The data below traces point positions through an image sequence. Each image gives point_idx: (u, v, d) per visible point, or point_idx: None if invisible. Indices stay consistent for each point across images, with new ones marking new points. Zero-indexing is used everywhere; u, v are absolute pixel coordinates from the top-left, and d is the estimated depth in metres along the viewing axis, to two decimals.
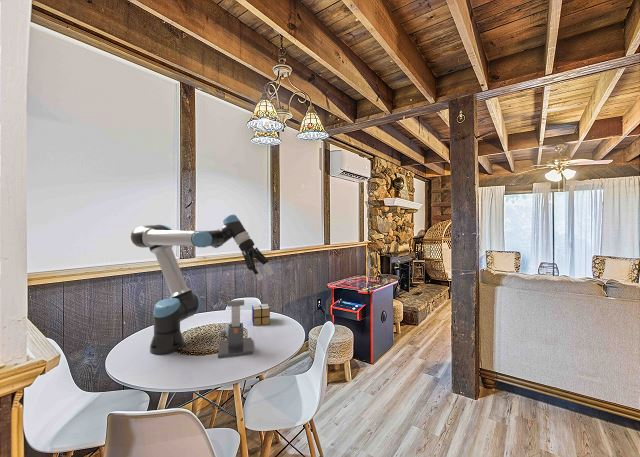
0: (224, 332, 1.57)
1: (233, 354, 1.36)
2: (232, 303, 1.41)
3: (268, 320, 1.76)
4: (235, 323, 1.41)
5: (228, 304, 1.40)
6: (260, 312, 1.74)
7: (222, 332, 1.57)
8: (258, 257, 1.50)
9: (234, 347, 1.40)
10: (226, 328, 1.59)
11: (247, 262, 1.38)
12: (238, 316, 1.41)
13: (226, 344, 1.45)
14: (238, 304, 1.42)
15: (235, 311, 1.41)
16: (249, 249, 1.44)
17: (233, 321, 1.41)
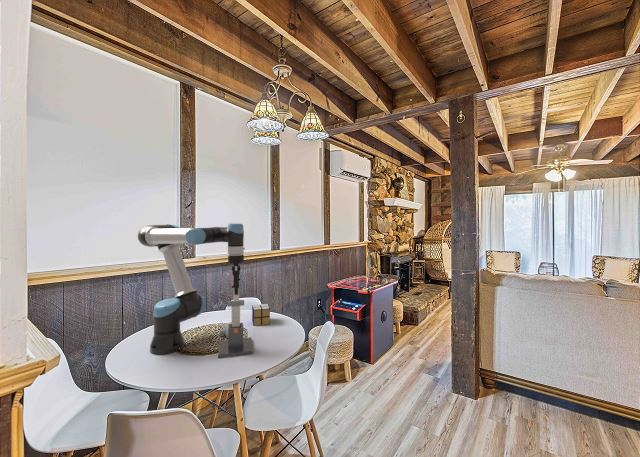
0: (224, 332, 1.57)
1: (233, 354, 1.36)
2: (232, 303, 1.41)
3: (268, 320, 1.76)
4: (235, 323, 1.41)
5: (228, 304, 1.40)
6: (260, 312, 1.74)
7: (222, 332, 1.57)
8: None
9: (234, 347, 1.40)
10: (226, 328, 1.59)
11: (235, 280, 1.33)
12: (238, 316, 1.41)
13: (226, 344, 1.45)
14: (238, 304, 1.42)
15: (235, 311, 1.41)
16: (238, 265, 1.40)
17: (233, 321, 1.41)
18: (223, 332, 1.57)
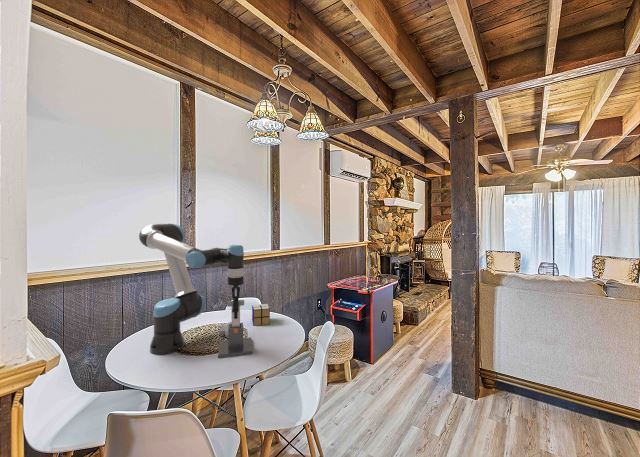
0: (223, 332, 1.57)
1: (233, 354, 1.36)
2: (232, 303, 1.41)
3: (268, 320, 1.76)
4: None
5: (228, 304, 1.40)
6: (260, 312, 1.74)
7: (221, 332, 1.57)
8: None
9: (234, 347, 1.40)
10: (225, 328, 1.59)
11: (235, 305, 1.37)
12: None
13: (226, 344, 1.45)
14: (238, 304, 1.42)
15: None
16: None
17: None
18: (222, 332, 1.57)
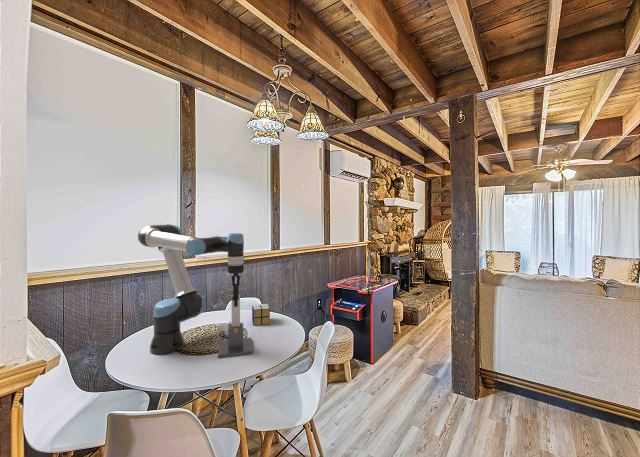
0: (223, 332, 1.57)
1: (233, 354, 1.36)
2: (232, 291, 1.41)
3: (268, 320, 1.76)
4: None
5: (227, 292, 1.40)
6: (260, 312, 1.74)
7: (221, 332, 1.57)
8: None
9: (234, 347, 1.40)
10: (224, 328, 1.59)
11: (235, 293, 1.37)
12: None
13: (226, 344, 1.45)
14: (238, 292, 1.41)
15: None
16: None
17: None
18: (222, 332, 1.57)
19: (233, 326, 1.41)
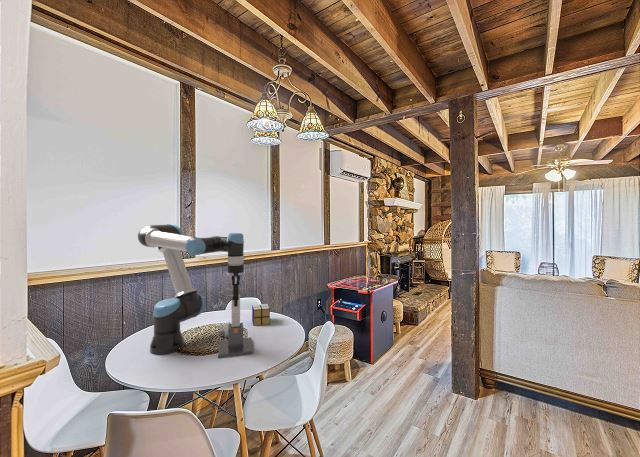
0: (222, 332, 1.57)
1: (233, 354, 1.36)
2: (232, 291, 1.41)
3: (268, 320, 1.76)
4: None
5: (227, 292, 1.40)
6: (260, 312, 1.74)
7: (220, 332, 1.57)
8: None
9: (234, 347, 1.40)
10: (224, 328, 1.59)
11: (235, 293, 1.37)
12: None
13: (226, 344, 1.45)
14: (238, 292, 1.41)
15: None
16: None
17: None
18: (222, 332, 1.57)
19: (233, 326, 1.41)
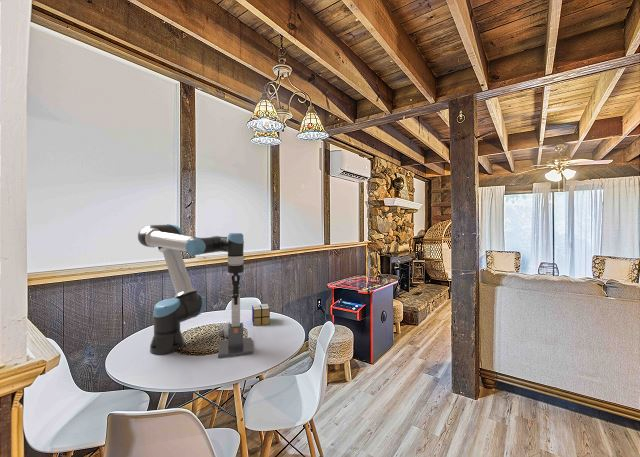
0: (222, 332, 1.57)
1: (233, 354, 1.36)
2: (232, 291, 1.41)
3: (268, 320, 1.76)
4: (235, 311, 1.41)
5: (227, 292, 1.40)
6: (260, 312, 1.74)
7: (220, 332, 1.57)
8: None
9: (234, 347, 1.40)
10: (224, 328, 1.59)
11: (235, 290, 1.34)
12: None
13: (226, 344, 1.45)
14: None
15: None
16: (238, 275, 1.40)
17: None
18: (222, 332, 1.57)
19: (233, 326, 1.41)
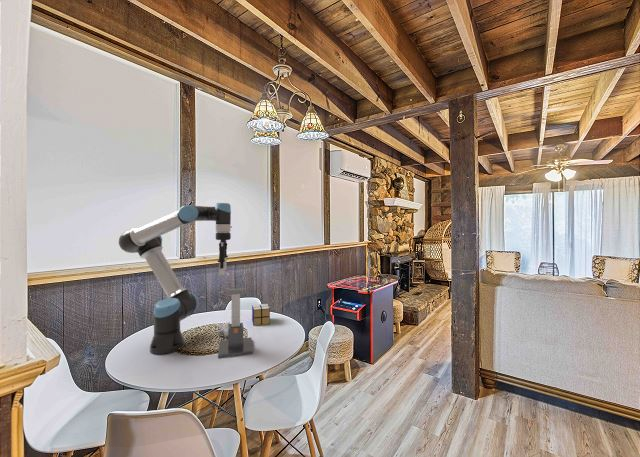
0: (222, 332, 1.57)
1: (233, 354, 1.36)
2: (232, 291, 1.41)
3: (268, 320, 1.76)
4: (235, 311, 1.41)
5: (227, 292, 1.40)
6: (260, 312, 1.74)
7: (220, 332, 1.57)
8: None
9: (234, 347, 1.40)
10: (224, 328, 1.59)
11: (221, 254, 1.43)
12: (238, 304, 1.41)
13: (226, 344, 1.45)
14: (238, 292, 1.41)
15: (235, 299, 1.41)
16: (225, 242, 1.50)
17: (233, 309, 1.41)
18: (221, 332, 1.57)
19: (233, 326, 1.41)
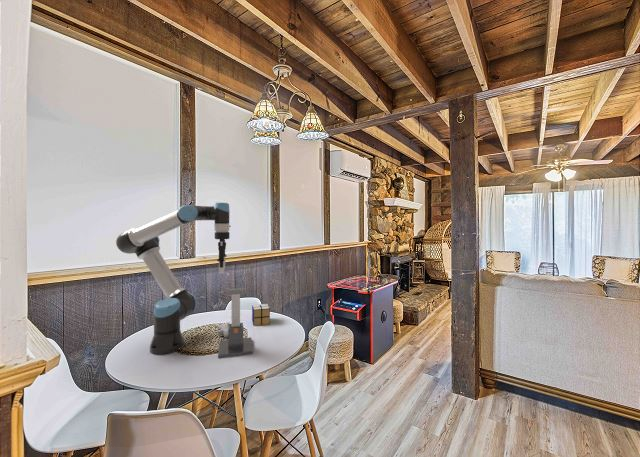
0: (221, 332, 1.57)
1: (233, 354, 1.36)
2: (232, 291, 1.41)
3: (268, 320, 1.76)
4: (235, 311, 1.41)
5: (227, 292, 1.40)
6: (260, 312, 1.74)
7: (219, 332, 1.57)
8: None
9: (234, 347, 1.40)
10: (223, 328, 1.59)
11: (220, 253, 1.45)
12: (238, 304, 1.41)
13: (226, 344, 1.45)
14: (238, 292, 1.41)
15: (235, 299, 1.41)
16: (224, 241, 1.51)
17: (233, 309, 1.41)
18: (221, 332, 1.57)
19: (233, 326, 1.41)
